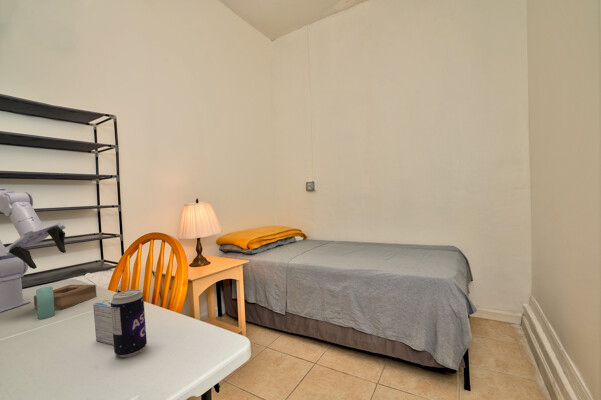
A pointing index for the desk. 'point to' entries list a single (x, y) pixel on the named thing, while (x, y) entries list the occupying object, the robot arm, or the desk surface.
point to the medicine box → (103, 321)
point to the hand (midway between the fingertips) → (48, 259)
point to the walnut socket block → (71, 295)
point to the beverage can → (128, 322)
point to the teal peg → (45, 302)
